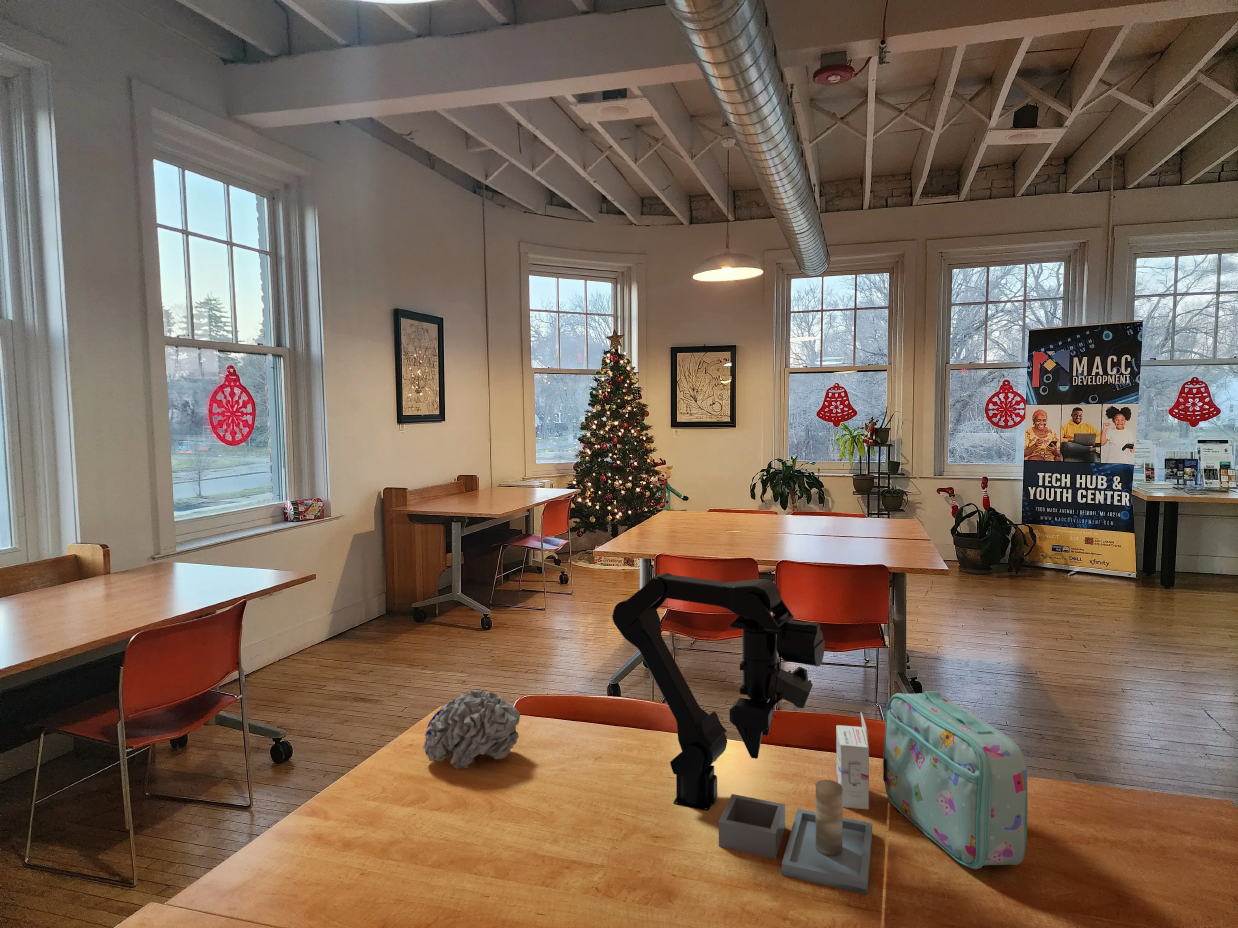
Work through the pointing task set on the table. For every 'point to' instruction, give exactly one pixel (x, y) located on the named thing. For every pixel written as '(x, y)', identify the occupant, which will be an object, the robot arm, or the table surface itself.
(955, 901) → the table surface
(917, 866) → the table surface
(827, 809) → the dowel
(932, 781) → the lunch box
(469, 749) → the educational model
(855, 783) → the ink cartridge box
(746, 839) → the grey square bin
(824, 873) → the tray
